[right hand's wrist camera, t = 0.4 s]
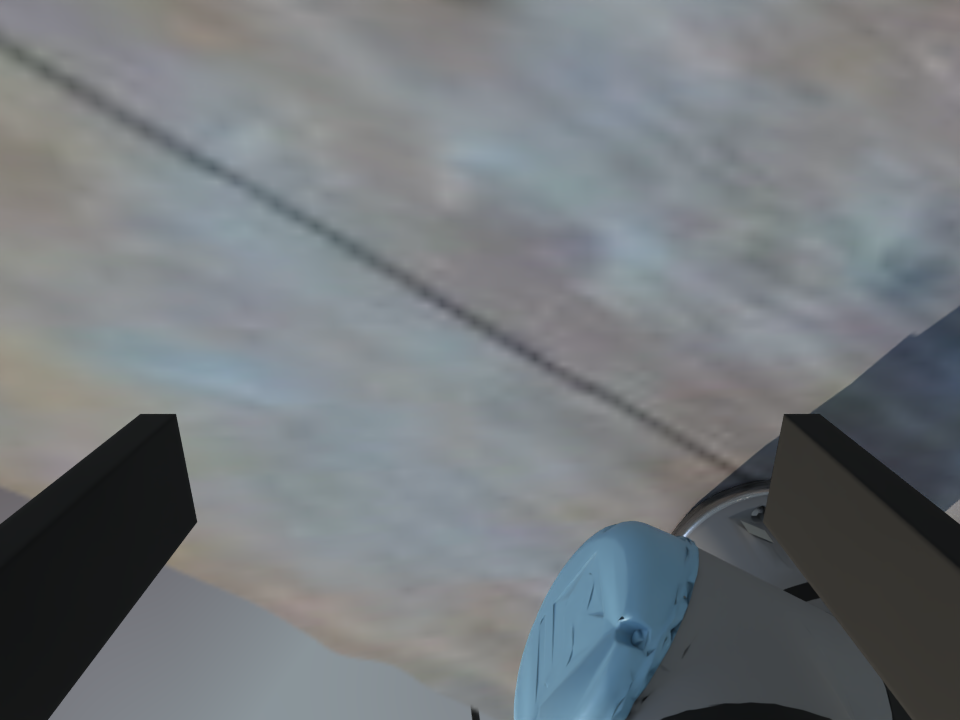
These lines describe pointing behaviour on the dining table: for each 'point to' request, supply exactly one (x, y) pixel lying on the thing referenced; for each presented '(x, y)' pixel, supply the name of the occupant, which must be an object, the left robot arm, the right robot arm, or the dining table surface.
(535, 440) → the dining table surface
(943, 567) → the right robot arm
